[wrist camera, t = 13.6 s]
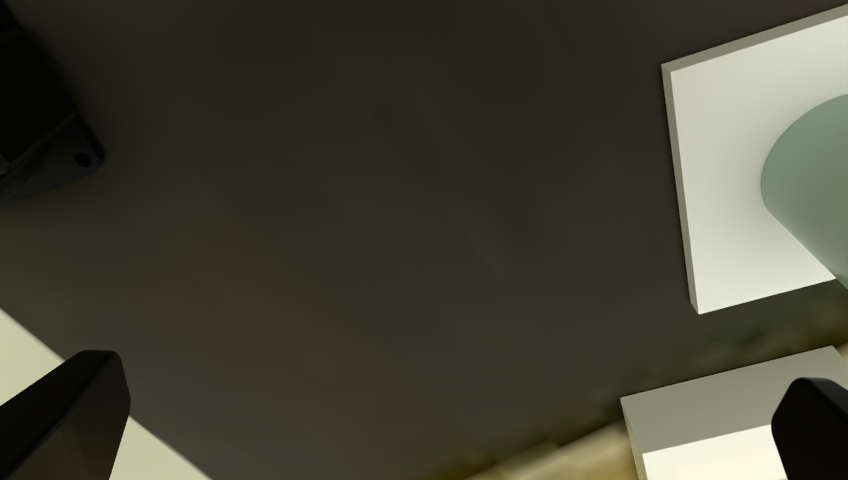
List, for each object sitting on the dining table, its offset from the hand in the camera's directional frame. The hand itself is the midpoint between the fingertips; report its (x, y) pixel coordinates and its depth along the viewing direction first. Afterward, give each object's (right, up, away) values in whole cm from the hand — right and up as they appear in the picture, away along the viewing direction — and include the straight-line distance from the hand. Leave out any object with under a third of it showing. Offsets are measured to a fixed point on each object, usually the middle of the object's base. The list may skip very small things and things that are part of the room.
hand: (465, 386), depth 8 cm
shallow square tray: (+14, -7, +21) cm, 26 cm away
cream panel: (+13, +5, +13) cm, 19 cm away
